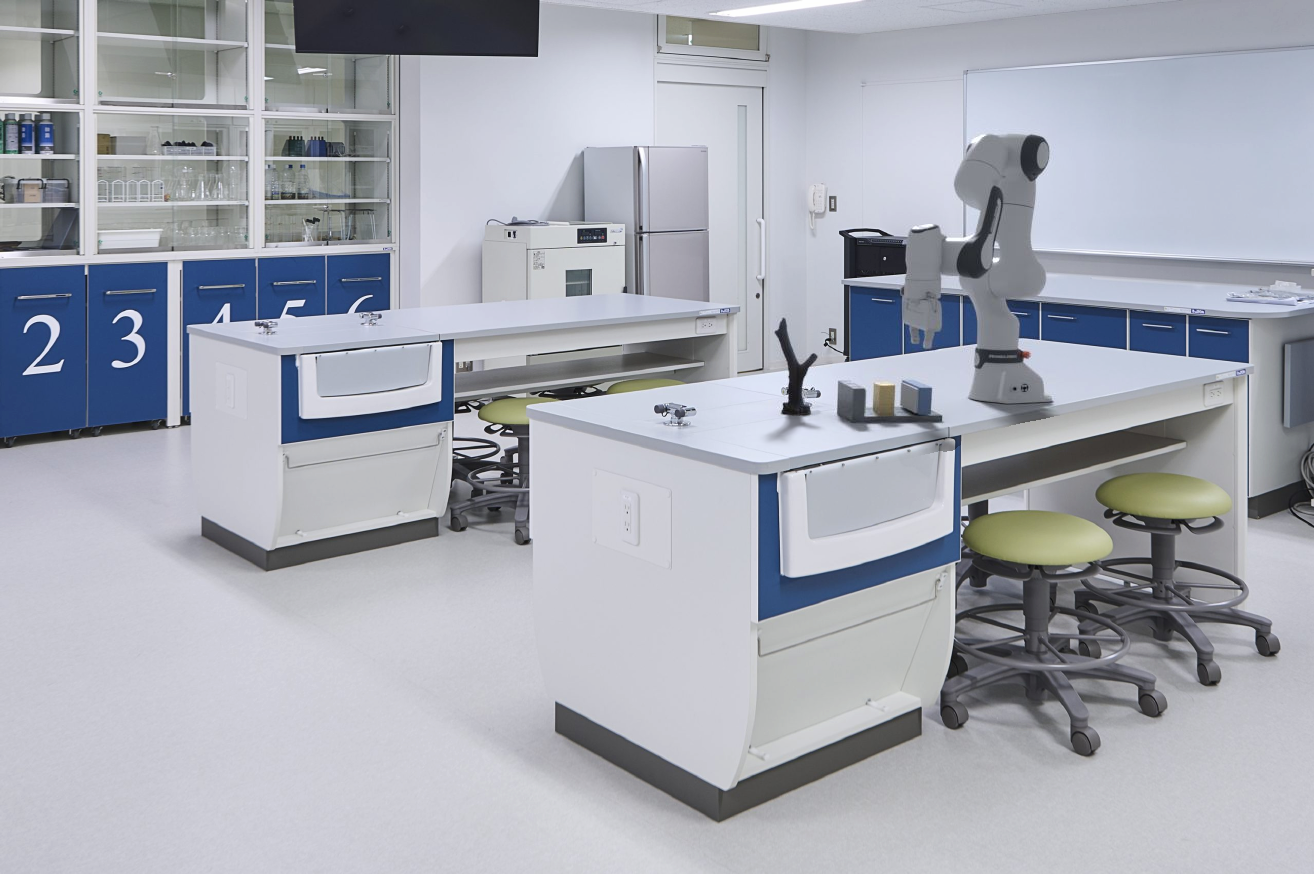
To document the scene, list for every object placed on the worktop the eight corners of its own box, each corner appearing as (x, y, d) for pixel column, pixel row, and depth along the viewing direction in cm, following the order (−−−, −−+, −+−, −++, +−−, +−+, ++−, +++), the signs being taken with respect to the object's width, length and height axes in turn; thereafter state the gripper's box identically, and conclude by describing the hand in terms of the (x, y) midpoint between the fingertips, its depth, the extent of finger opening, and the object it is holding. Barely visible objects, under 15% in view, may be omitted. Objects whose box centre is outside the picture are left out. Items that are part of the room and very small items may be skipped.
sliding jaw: (912, 405, 311) (913, 379, 310) (930, 414, 298) (932, 387, 296) (898, 405, 311) (900, 379, 310) (916, 414, 297) (918, 387, 296)
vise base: (923, 412, 312) (924, 379, 310) (942, 421, 298) (943, 387, 297) (836, 413, 309) (838, 380, 308) (852, 422, 296) (853, 388, 294)
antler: (797, 409, 315) (800, 314, 310) (819, 413, 309) (823, 316, 304) (766, 414, 307) (768, 316, 303) (789, 418, 301) (791, 318, 297)
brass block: (887, 409, 306) (889, 382, 305) (894, 412, 301) (895, 385, 300) (872, 409, 306) (873, 382, 304) (878, 413, 301) (879, 385, 300)
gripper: (949, 294, 289) (947, 350, 292) (922, 287, 309) (920, 340, 312) (923, 294, 289) (922, 351, 292) (898, 287, 309) (896, 341, 311)
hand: (921, 346), depth 302 cm, fingers open, 8 cm apart
